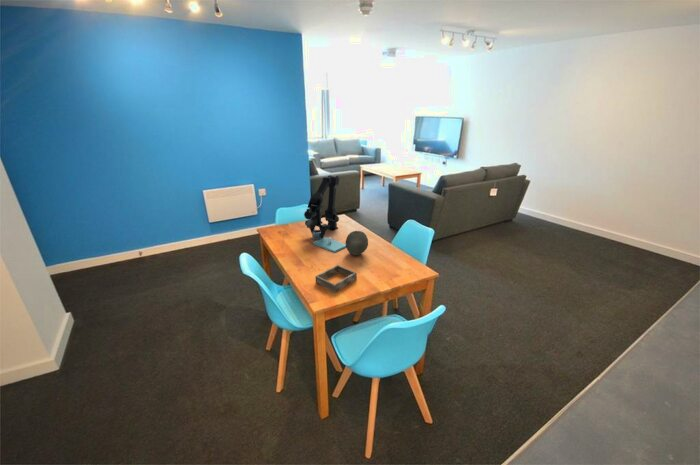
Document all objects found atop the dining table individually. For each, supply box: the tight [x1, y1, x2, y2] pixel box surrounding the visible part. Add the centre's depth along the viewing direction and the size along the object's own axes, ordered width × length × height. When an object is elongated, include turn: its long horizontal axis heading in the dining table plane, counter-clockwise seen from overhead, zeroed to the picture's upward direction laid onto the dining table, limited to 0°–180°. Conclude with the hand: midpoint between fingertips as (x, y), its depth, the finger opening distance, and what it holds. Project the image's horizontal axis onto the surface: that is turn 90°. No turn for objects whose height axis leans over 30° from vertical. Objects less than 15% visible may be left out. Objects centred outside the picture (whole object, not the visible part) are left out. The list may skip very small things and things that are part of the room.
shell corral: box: [315, 264, 358, 293], centre depth 154 cm, size 16×14×4 cm
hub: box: [311, 229, 322, 241], centre depth 207 cm, size 7×7×5 cm
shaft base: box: [312, 236, 347, 253], centre depth 196 cm, size 12×20×5 cm, turn 49°
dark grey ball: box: [345, 230, 369, 256], centre depth 181 cm, size 14×14×15 cm
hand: (317, 236), depth 208 cm, fingers open, 9 cm apart
